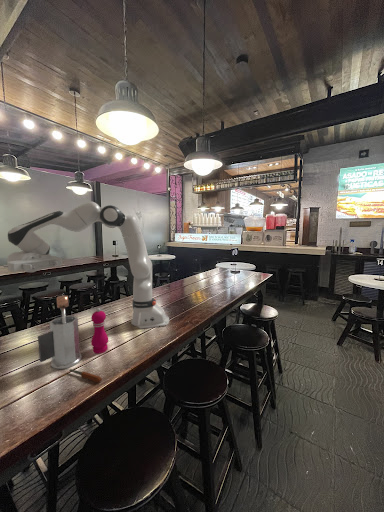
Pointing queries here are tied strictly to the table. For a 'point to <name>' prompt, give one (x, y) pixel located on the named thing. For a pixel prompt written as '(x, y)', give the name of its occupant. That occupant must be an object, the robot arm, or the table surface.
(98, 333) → the pepper mill
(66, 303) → the plunger
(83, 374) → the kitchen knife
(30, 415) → the table surface
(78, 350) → the press
